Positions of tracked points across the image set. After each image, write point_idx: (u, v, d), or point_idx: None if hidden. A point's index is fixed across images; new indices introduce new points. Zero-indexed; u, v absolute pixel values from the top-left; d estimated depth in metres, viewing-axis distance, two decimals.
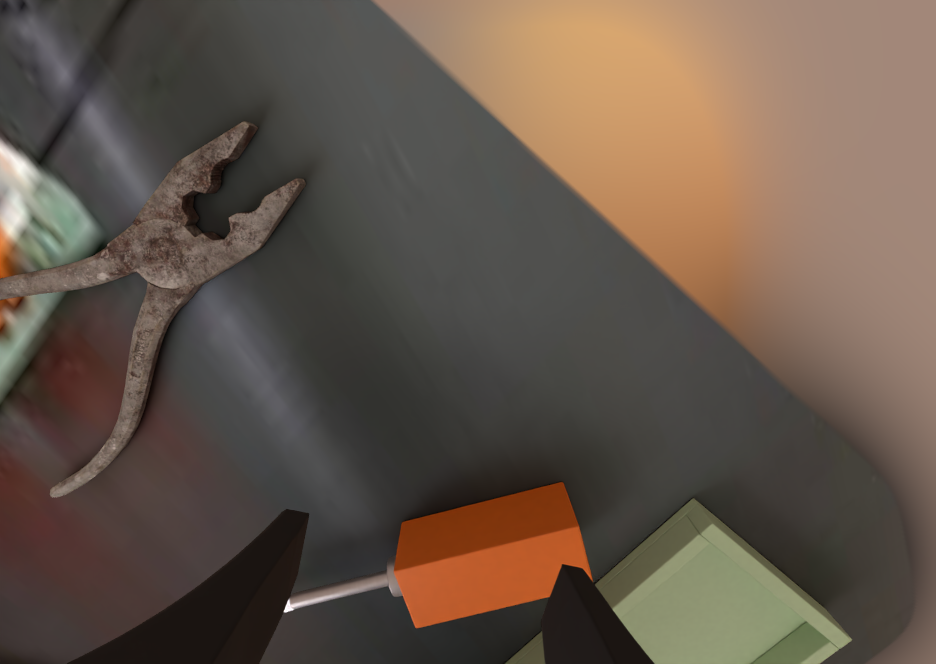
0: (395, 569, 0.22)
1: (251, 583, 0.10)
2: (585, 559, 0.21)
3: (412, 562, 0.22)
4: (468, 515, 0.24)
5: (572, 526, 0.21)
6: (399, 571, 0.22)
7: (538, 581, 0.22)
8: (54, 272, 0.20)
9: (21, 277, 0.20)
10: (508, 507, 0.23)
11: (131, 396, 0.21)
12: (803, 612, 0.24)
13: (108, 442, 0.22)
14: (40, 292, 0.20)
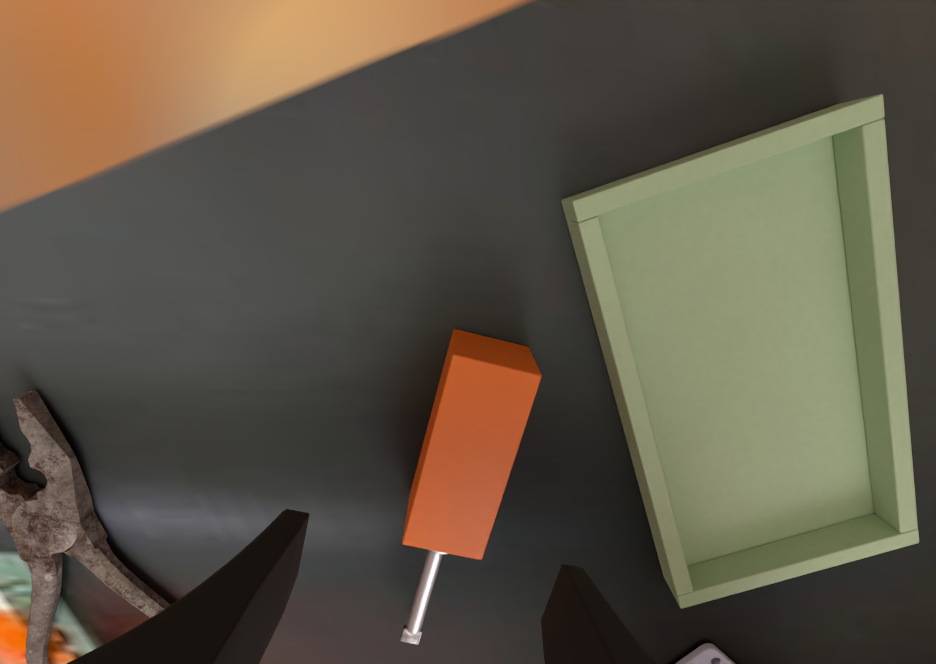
0: None
1: (251, 583, 0.10)
2: (499, 367, 0.18)
3: (407, 521, 0.20)
4: (425, 437, 0.21)
5: (450, 360, 0.18)
6: (406, 539, 0.20)
7: (498, 426, 0.18)
8: (32, 604, 0.23)
9: (29, 625, 0.24)
10: (436, 398, 0.21)
11: None
12: (785, 143, 0.17)
13: None
14: (47, 621, 0.24)
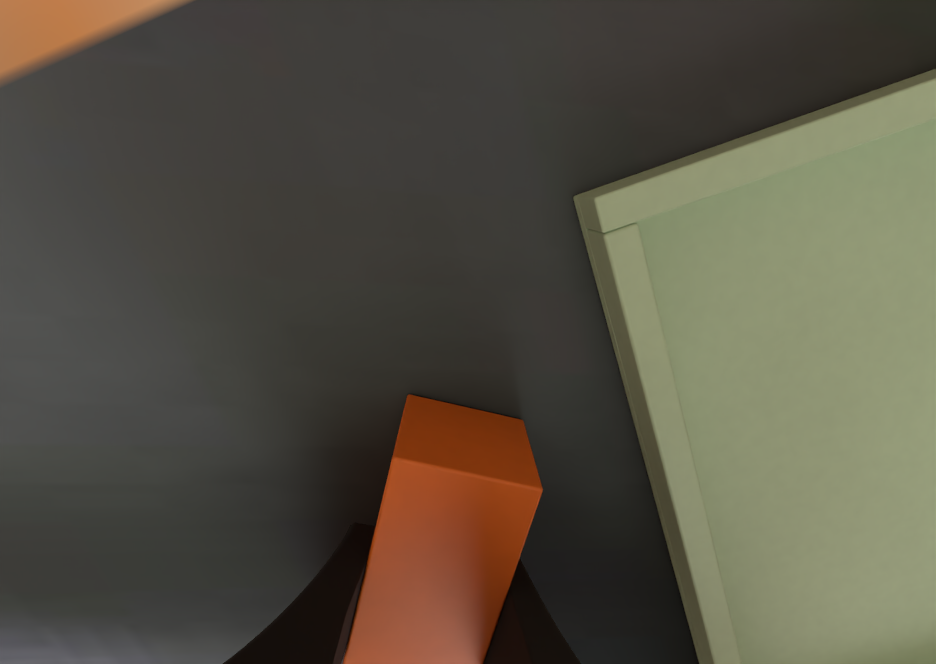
0: None
1: (341, 600, 0.10)
2: (472, 478, 0.10)
3: None
4: None
5: (390, 466, 0.10)
6: None
7: (472, 567, 0.11)
8: None
9: None
10: None
11: None
12: None
13: None
14: None
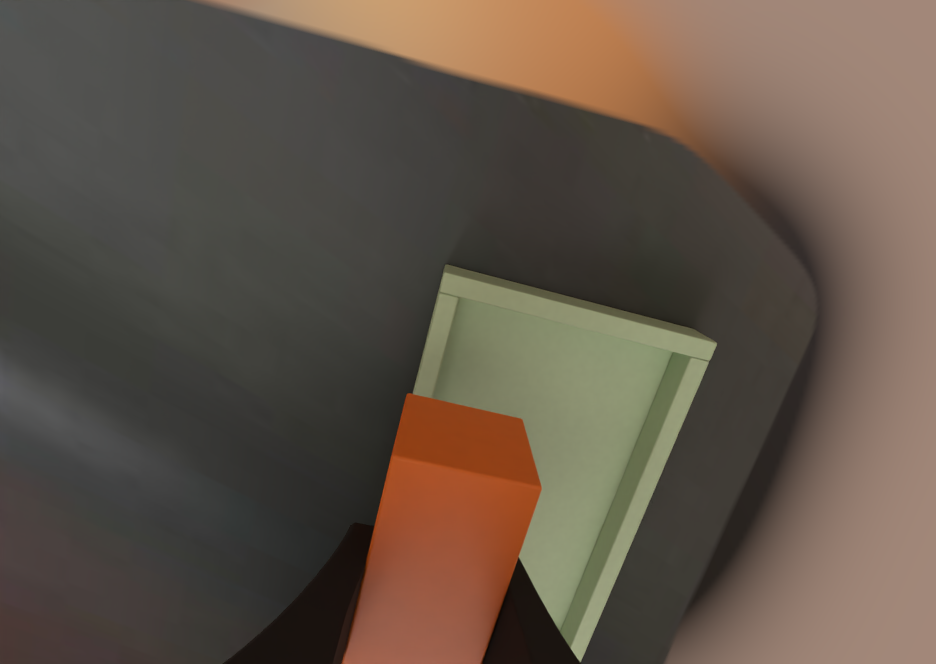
0: None
1: (341, 600, 0.10)
2: (471, 476, 0.10)
3: None
4: None
5: None
6: None
7: (471, 566, 0.11)
8: None
9: None
10: None
11: None
12: (631, 334, 0.19)
13: None
14: None
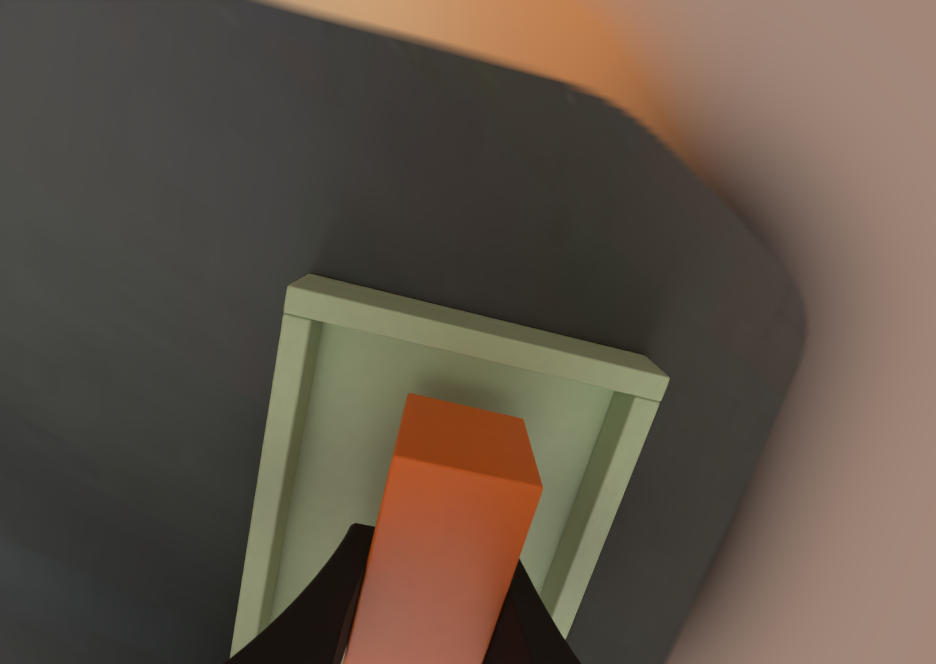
0: None
1: (341, 600, 0.10)
2: (473, 476, 0.10)
3: None
4: None
5: (390, 464, 0.10)
6: None
7: (472, 566, 0.11)
8: None
9: None
10: None
11: None
12: (552, 367, 0.14)
13: None
14: None
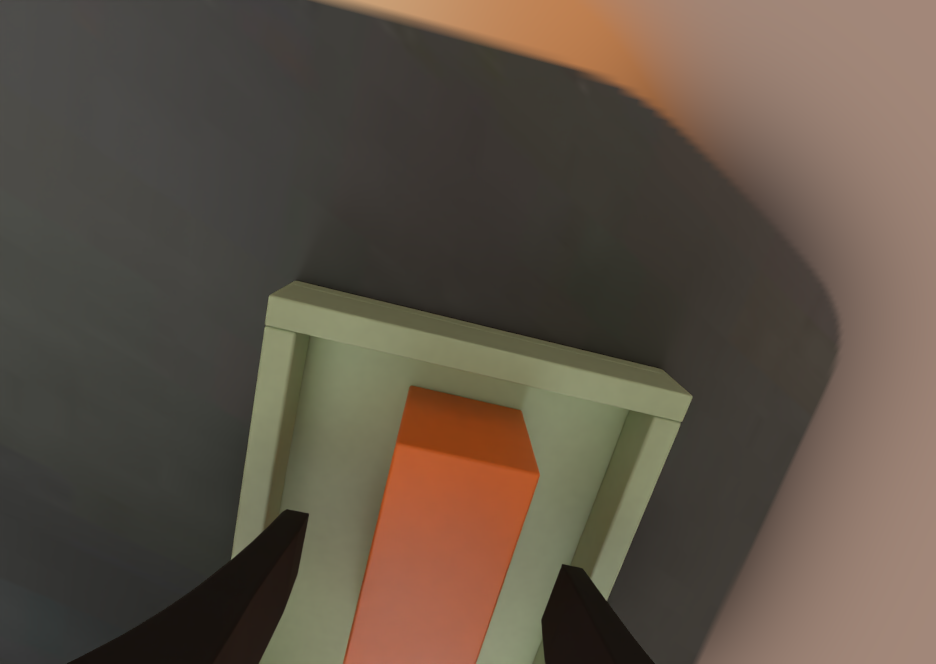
0: None
1: (251, 583, 0.10)
2: (472, 463, 0.11)
3: None
4: None
5: (393, 452, 0.11)
6: None
7: (472, 550, 0.12)
8: None
9: None
10: None
11: None
12: (562, 385, 0.13)
13: None
14: None
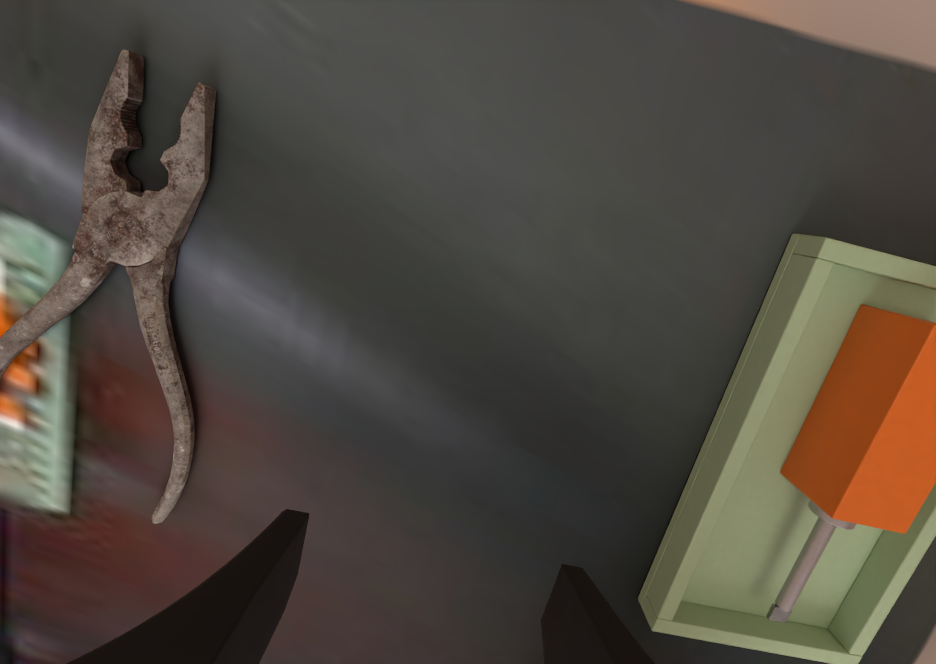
0: (831, 515, 0.20)
1: (251, 583, 0.10)
2: None
3: (835, 496, 0.20)
4: (824, 414, 0.21)
5: (929, 331, 0.18)
6: (836, 513, 0.20)
7: None
8: (44, 299, 0.20)
9: (21, 319, 0.20)
10: (847, 373, 0.21)
11: (170, 390, 0.21)
12: None
13: (175, 447, 0.22)
14: (44, 327, 0.20)
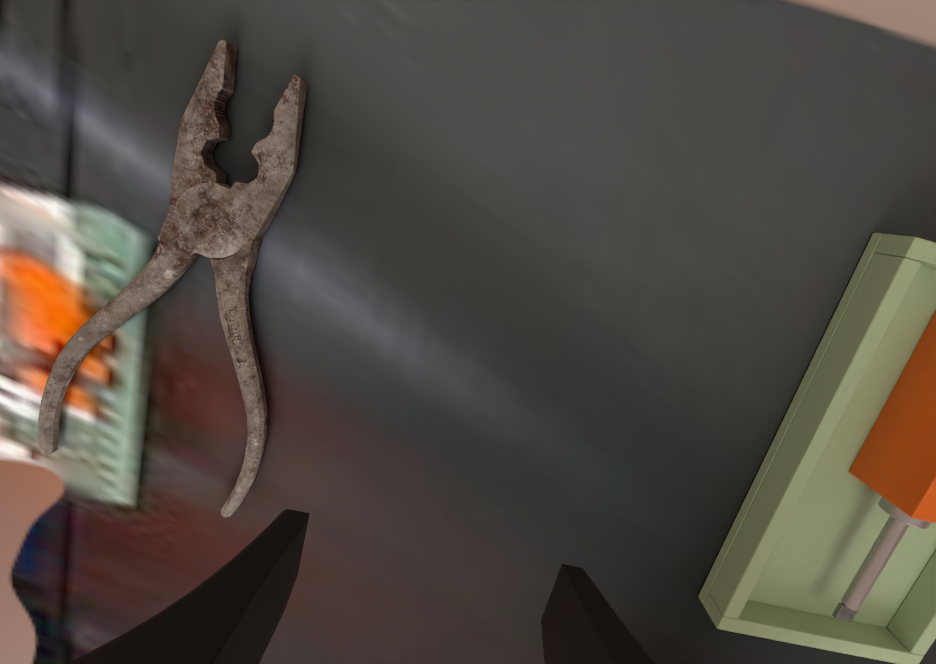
0: (910, 514, 0.20)
1: (251, 583, 0.10)
2: None
3: (915, 495, 0.20)
4: (899, 413, 0.21)
5: None
6: (915, 512, 0.20)
7: None
8: (127, 291, 0.19)
9: (102, 311, 0.20)
10: (925, 373, 0.21)
11: (247, 384, 0.21)
12: None
13: (248, 441, 0.22)
14: (124, 318, 0.20)
